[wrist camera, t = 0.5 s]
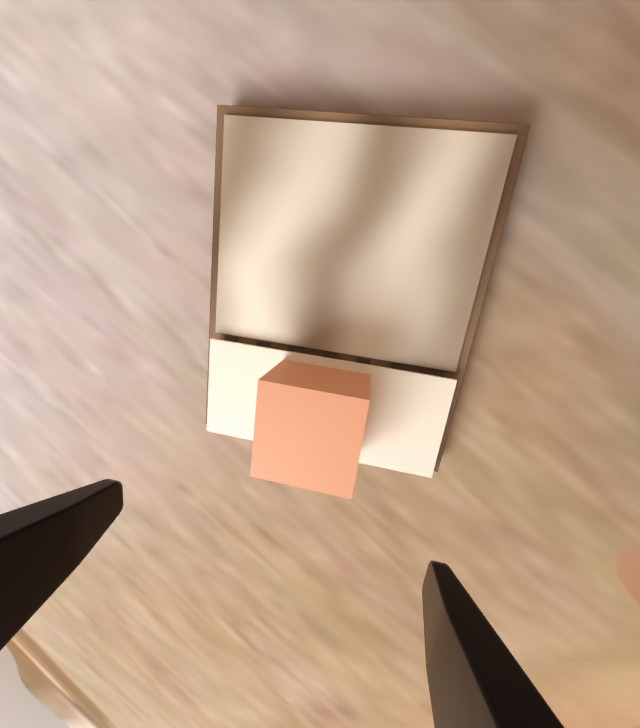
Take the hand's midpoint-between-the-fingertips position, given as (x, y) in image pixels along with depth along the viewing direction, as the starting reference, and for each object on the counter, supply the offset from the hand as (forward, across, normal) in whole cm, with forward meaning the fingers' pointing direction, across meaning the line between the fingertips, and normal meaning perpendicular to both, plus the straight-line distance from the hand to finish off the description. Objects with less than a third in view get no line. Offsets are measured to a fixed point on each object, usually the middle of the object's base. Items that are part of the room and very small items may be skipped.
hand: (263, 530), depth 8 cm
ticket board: (+12, 0, -6) cm, 13 cm away
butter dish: (+10, 0, 0) cm, 10 cm away
